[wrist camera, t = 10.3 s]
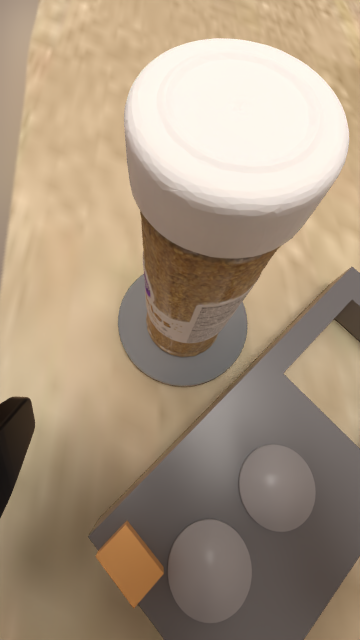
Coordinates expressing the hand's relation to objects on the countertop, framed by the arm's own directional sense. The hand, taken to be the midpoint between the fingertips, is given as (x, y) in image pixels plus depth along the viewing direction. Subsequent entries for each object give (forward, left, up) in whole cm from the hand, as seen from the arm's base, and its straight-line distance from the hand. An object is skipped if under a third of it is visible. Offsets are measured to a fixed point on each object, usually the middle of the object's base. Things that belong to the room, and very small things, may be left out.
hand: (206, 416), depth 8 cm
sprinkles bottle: (+4, +4, -9) cm, 11 cm away
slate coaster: (+4, +4, -10) cm, 11 cm away
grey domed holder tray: (+4, -5, -10) cm, 12 cm away
